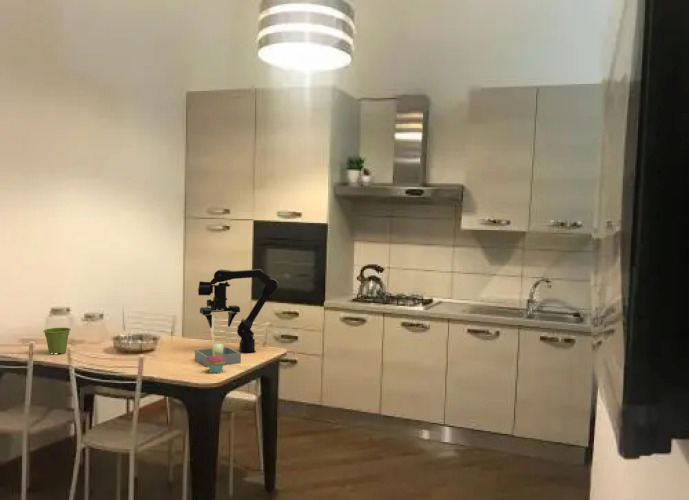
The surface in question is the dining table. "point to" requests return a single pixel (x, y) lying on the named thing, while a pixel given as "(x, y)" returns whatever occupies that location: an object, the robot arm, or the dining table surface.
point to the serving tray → (228, 353)
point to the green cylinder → (218, 348)
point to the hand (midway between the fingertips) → (219, 327)
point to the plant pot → (57, 339)
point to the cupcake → (215, 362)
